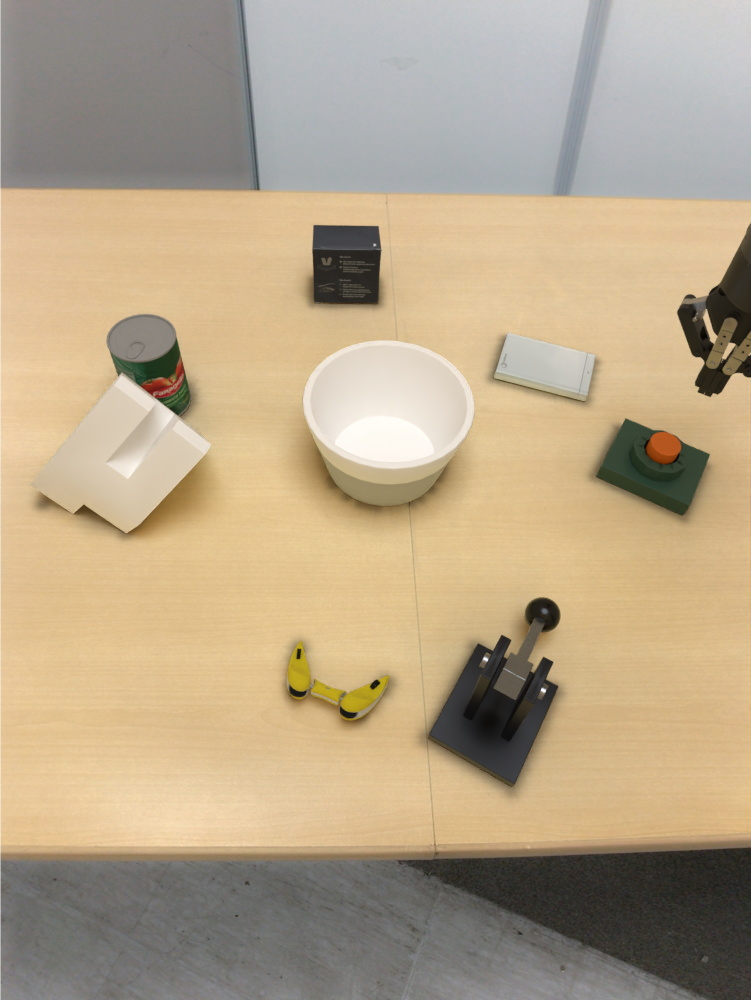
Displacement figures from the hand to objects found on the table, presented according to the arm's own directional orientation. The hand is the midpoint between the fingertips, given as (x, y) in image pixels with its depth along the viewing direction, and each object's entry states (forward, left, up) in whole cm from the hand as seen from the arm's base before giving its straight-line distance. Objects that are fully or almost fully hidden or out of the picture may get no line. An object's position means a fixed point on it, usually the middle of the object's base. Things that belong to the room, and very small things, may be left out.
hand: (706, 390), depth 79 cm
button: (+1, -1, -12) cm, 12 cm away
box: (+50, -9, -16) cm, 53 cm away
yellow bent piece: (+20, +43, -16) cm, 50 cm away
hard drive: (+19, -10, -16) cm, 26 cm away
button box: (+1, -1, -15) cm, 15 cm away
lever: (+5, +33, -10) cm, 35 cm away
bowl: (+30, +15, -16) cm, 37 cm away
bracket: (+5, +37, -15) cm, 41 cm away
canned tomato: (+59, +22, -16) cm, 65 cm away
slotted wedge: (+52, +33, -16) cm, 64 cm away
